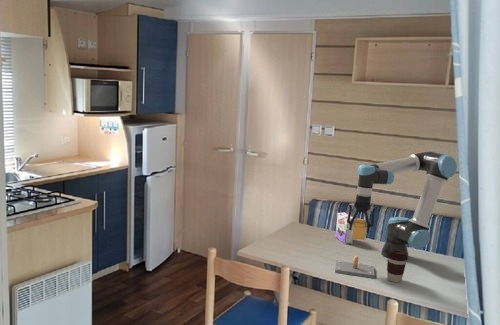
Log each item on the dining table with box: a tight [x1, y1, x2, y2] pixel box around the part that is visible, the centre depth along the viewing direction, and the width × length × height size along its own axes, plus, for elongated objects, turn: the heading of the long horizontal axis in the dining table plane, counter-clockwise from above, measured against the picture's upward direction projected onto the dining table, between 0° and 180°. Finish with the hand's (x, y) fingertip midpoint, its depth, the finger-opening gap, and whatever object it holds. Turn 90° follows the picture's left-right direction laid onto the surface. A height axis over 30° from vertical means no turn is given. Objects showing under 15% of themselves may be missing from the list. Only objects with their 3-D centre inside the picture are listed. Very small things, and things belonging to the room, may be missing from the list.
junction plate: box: [334, 255, 376, 279], centre depth 258 cm, size 20×14×8 cm
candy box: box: [334, 212, 357, 245], centre depth 307 cm, size 14×6×16 cm, turn 17°
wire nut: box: [352, 218, 367, 241], centre depth 257 cm, size 6×6×10 cm
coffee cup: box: [386, 250, 409, 283], centre depth 248 cm, size 10×10×15 cm
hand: (358, 237), depth 257 cm, fingers closed on wire nut, 6 cm apart
